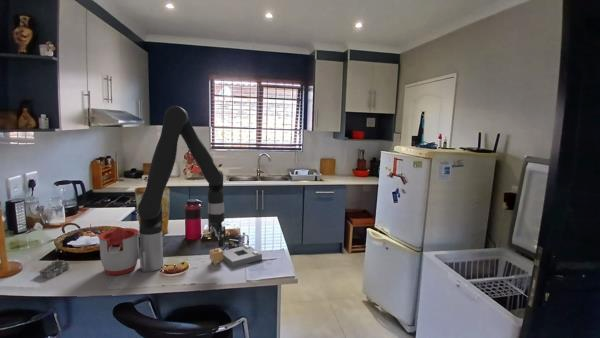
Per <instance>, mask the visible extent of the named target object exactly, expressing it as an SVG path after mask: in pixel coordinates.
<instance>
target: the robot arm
mask: <svg viewBox="0 0 600 338" xmlns="http://www.w3.org/2000/svg"><path fill="white" fill-rule="evenodd" d="M180 136H181V138H182V139H183V141H184V143H185V144H186V146H187V148H188V150H189V151H188V152H189V153H190V154H191V156H192V158H193V159H194V161H195V162H196V164H197V165H198V168H199V169H200V171H201V173H202V175H203V178H205V181H206V182H207V183H208V192H207V221H208V227H207V228H208V230H207V231H208V233H209V234H210V242H211V243H214V242H216V241H217V246H218V248H222V247H224V240H225V239H226V238H227V237H226V226H224V225H223V222H224V221H225V203H224V173H223V171H222V170H221V169H219V168H218V167H217V166H216V164H215V162H214V159H213V157H212V155H211V154H210V151H208V149H207V147H206V146H205V145H204V143H203V142H202V140H201V139H200V137H199V136H198V134H197V132H196V130H195V129H194V127H193V125H192V122H191V120H190V117H189V114H188V112H187V111H186V110H185V109H184V108H183V107H181V106H177V105H174V106H170V107H168V108H167V109H166V111H165V112H164V115H163V122H162V127H161V133H160V136H159V139H158V141H157V144H156V147H155V149H154V153H153V156H152V158H151V162H150V167H149V170H148V175H147V182H146V186H145V187H146V189H145V192H144V194H143V197H142V199H141V202H140V204H139V206H138V212H137V214H138V213H139V215H140V234H139V246H140V247H139V268H140V269H141V271H142V272H143V273H145V272H146V273H147V272H155V271H159V270H160V269H162V268H163V267H164V250H163V248H164V245H163V234H162V203H161V201H162V196H163V192H164V189H165V187H167V185H168V182H169V180H170V178H171V175H172V172H173V169H174V166H175V164H176V163H175V162H176V159H177V152H178V141H179V138H180ZM216 236H217V237H216ZM216 238H217V239H216ZM162 266H163V267H162ZM161 267H162V268H161Z"/></svg>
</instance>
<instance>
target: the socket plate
mask: <svg viewBox="0 0 600 338" xmlns="http://www.w3.org/2000/svg"><path fill="white" fill-rule="evenodd" d="M262 259H263V254H262V253H261V252H260V251H258V250H257V249H256V248H254V247H252V246H251V245H249V244H246V245H242V246H239V247H233V248H229V249H225V250H223V259H222V260H223V262H225V263H226V264H227V265H229V266H230V267H231V268H232V269H233V268H236V267H240V266H244V265H247V264H251V263H254V262H258V261H261V260H262ZM262 261H263V260H262Z"/></svg>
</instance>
